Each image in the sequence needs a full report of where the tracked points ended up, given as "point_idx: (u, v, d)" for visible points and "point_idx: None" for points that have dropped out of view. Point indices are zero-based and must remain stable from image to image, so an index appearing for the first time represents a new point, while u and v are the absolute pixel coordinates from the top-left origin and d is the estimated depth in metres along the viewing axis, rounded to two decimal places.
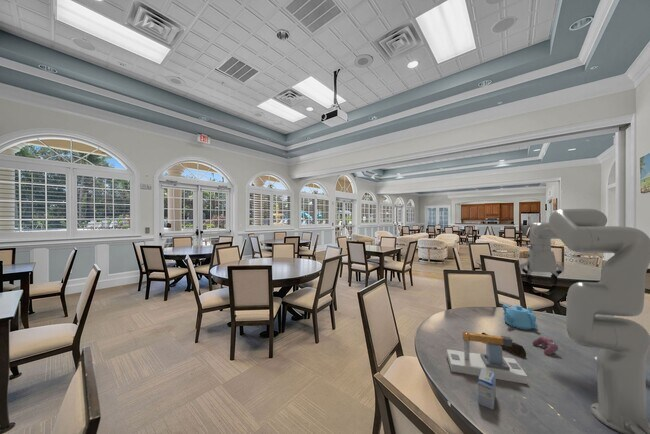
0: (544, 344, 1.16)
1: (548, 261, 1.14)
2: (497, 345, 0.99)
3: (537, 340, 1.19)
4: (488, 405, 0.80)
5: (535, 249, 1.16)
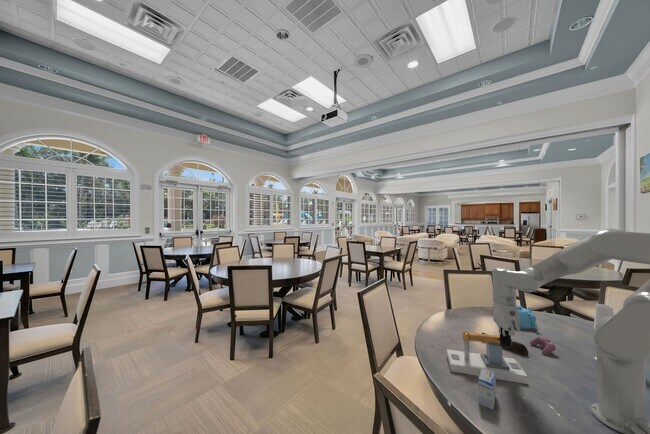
0: (542, 344, 1.16)
1: None
2: (497, 345, 0.99)
3: (535, 340, 1.19)
4: (488, 405, 0.80)
5: (515, 302, 0.94)
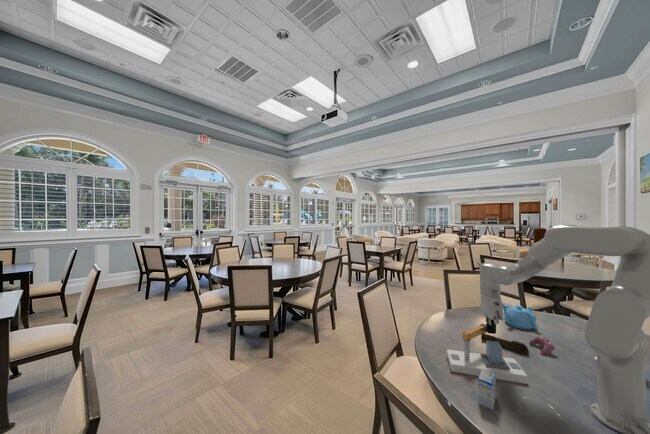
0: (541, 344, 1.16)
1: None
2: (497, 345, 0.99)
3: (534, 340, 1.19)
4: (488, 405, 0.80)
5: (499, 294, 1.05)
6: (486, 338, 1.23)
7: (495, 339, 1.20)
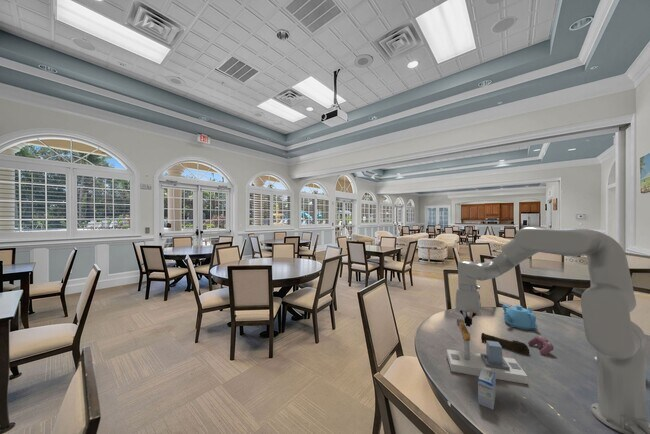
0: (540, 344, 1.16)
1: None
2: (497, 345, 0.99)
3: (533, 340, 1.19)
4: (488, 405, 0.80)
5: None
6: (486, 338, 1.23)
7: (495, 339, 1.20)
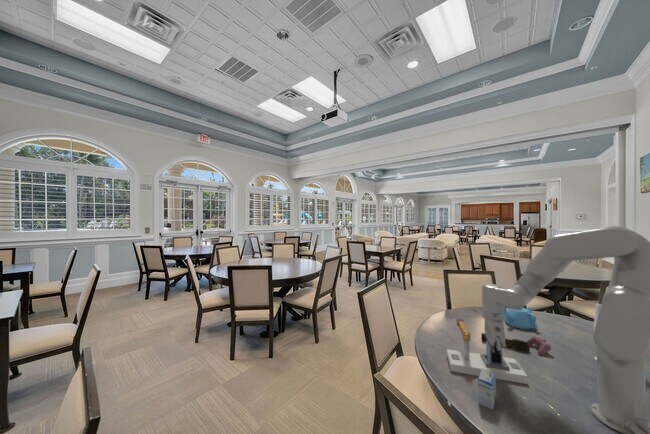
0: (537, 344, 1.16)
1: None
2: None
3: (530, 340, 1.19)
4: (488, 405, 0.80)
5: (502, 319, 0.97)
6: None
7: None
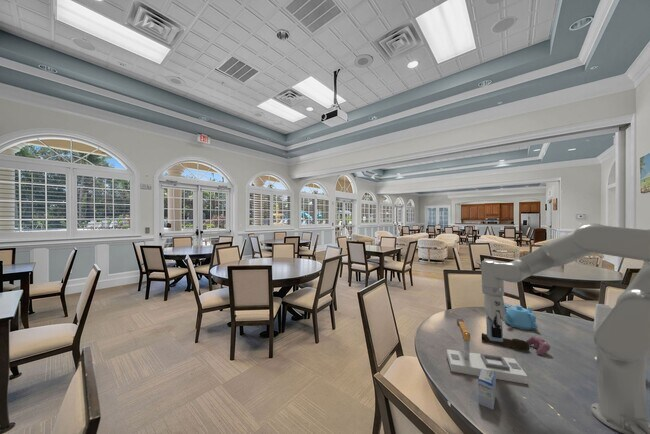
0: (536, 344, 1.16)
1: None
2: None
3: (529, 340, 1.19)
4: (488, 405, 0.80)
5: (501, 293, 0.97)
6: (487, 338, 1.22)
7: None
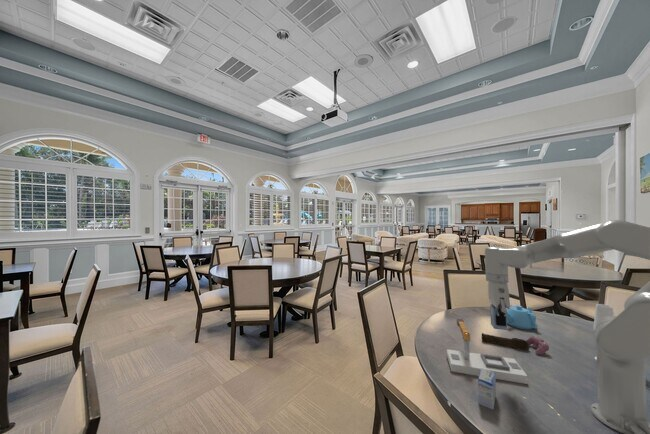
0: (535, 344, 1.16)
1: None
2: None
3: (528, 340, 1.19)
4: (488, 405, 0.80)
5: (506, 280, 0.95)
6: (487, 338, 1.22)
7: (496, 338, 1.20)
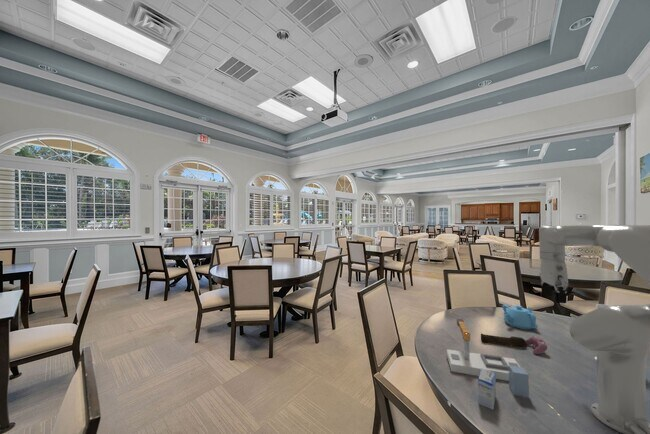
0: (535, 344, 1.16)
1: None
2: (522, 372, 0.86)
3: (528, 340, 1.19)
4: (488, 405, 0.80)
5: (563, 258, 0.94)
6: (487, 339, 1.22)
7: (496, 338, 1.21)
